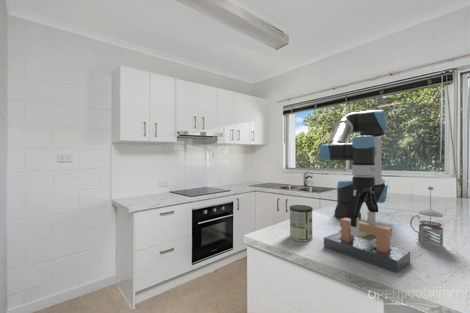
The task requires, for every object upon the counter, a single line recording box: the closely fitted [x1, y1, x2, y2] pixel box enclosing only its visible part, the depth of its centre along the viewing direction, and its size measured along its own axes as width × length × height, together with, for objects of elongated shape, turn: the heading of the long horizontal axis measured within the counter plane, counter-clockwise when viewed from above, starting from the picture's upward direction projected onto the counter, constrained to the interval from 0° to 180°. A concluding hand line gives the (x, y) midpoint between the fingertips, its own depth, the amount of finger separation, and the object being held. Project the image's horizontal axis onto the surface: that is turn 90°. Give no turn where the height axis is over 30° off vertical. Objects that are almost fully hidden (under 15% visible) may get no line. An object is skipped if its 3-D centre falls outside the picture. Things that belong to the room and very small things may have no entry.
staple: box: [339, 218, 393, 254], centre depth 87 cm, size 17×4×12 cm, turn 36°
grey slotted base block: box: [323, 231, 411, 274], centre depth 87 cm, size 26×12×4 cm, turn 36°
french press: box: [409, 186, 447, 252], centre depth 96 cm, size 10×12×25 cm
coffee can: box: [289, 204, 314, 242], centre depth 106 cm, size 10×10×14 cm
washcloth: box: [338, 229, 376, 240], centre depth 110 cm, size 13×18×3 cm
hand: (363, 231), depth 87 cm, fingers open, 13 cm apart
